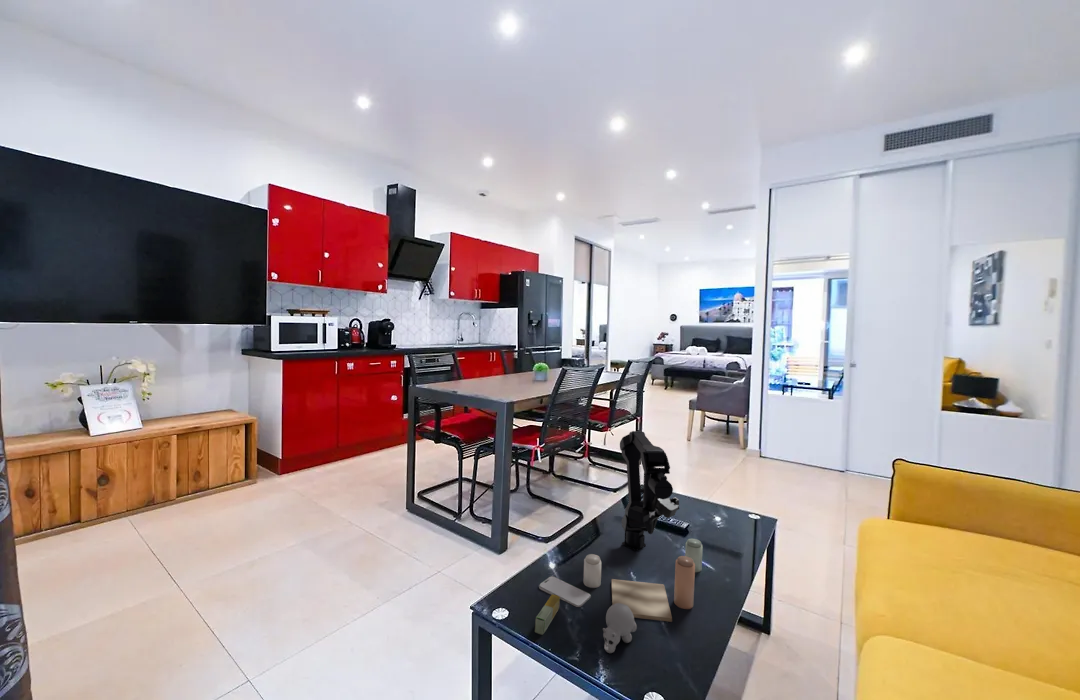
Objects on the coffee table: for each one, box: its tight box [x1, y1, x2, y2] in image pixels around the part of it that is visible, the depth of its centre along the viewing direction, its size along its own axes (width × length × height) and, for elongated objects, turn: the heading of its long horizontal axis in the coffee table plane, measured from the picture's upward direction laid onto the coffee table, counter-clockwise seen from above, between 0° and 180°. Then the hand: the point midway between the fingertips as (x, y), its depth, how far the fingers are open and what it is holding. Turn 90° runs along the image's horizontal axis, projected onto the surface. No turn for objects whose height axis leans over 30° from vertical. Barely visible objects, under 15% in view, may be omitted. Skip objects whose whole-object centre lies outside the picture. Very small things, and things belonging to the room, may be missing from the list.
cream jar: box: [582, 553, 602, 589], centre depth 137 cm, size 5×5×8 cm
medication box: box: [534, 594, 561, 636], centre depth 119 cm, size 12×3×4 cm, turn 157°
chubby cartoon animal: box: [602, 603, 638, 654], centre depth 111 cm, size 7×12×8 cm, turn 141°
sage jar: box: [684, 538, 704, 573], centre depth 147 cm, size 5×5×9 cm
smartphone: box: [538, 575, 592, 608], centre depth 132 cm, size 7×1×15 cm
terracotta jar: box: [673, 555, 696, 610], centre depth 127 cm, size 5×5×13 cm
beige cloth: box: [611, 578, 673, 623], centre depth 128 cm, size 16×16×1 cm
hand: (650, 533), depth 143 cm, fingers closed
